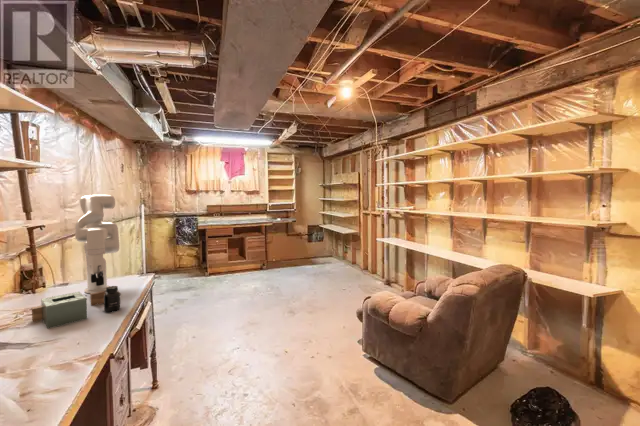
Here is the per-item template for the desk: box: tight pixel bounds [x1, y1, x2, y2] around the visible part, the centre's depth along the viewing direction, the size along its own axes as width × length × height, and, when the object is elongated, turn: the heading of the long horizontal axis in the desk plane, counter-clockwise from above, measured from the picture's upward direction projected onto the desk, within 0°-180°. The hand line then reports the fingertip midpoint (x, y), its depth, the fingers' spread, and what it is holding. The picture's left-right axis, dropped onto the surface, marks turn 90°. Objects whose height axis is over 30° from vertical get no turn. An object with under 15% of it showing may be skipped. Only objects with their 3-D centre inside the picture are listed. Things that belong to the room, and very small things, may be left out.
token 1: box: [31, 305, 43, 322], centre depth 140 cm, size 3×6×6 cm, turn 140°
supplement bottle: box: [103, 285, 121, 314], centre depth 151 cm, size 7×7×12 cm
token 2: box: [89, 291, 106, 307], centre depth 161 cm, size 3×6×6 cm, turn 140°
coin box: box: [40, 291, 88, 329], centre depth 140 cm, size 14×14×10 cm
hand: (97, 283), depth 160 cm, fingers open, 9 cm apart
